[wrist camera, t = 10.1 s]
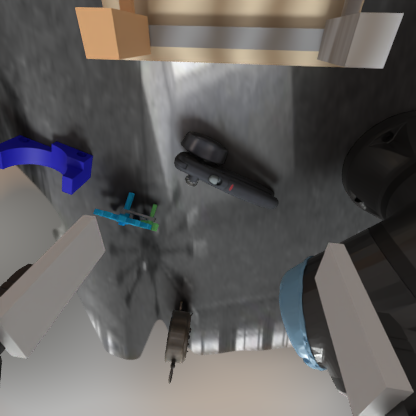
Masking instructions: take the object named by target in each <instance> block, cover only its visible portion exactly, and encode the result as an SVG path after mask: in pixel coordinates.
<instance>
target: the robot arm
mask: <svg viewBox="0 0 416 416" xmlns="http://www.w3.org/2000/svg"><path fill="white" fill-rule="evenodd" d="M342 182H343V186H344V188H345V190H346V192H347V194H348V195H349V196H350V198H351V199H352V201H353V202H354V203H355V204H356V205H357V206H359V207H360V208H361V209H363V210H365V211H367V212H368V213H370V214H372V215H374V216H376V217H378V218H380V219H381V220H383V221H381V222H380V223H378V224H376V225H374V226H372V227H370V228H367V229H366V230H364V231H362V232H360V233H358V234H356V235H354V236H352V237H350V238H348V239H346V240H344V241H342V242H340V243H339V244H337V243H328V246H327V248H326V250H325V251H323V252H321V253H319V254H317V255H315V256H309V257H307V258H306V259H305V260H304V262H302V263H300V264H298V265H297V266H295V267H293V268H292V269H290V270H289V271H287V272H286V274H285V275H284V276H283V278H282V281H281V285H280V293H279V302H280V310H281V315H282V319H283V323H284V326H285V329H286V332H287V334H288V337H289V339H290V341H291V343H292V345H293V347H294V349H295V351H296V352H297V354H298V355H299V356H300V357H301V358H303V361H304V362H305V363H306V364H307V365H308V366H309V367H311V368H313V369H318V370H320V371H321V370H326V369H327V370H328V372H329V374H330V376H331V378H332V380H333V382H334V384H335V386H336V388H337V390H338V391H339V392H340V394H342V395H344V396H345V397H347V398H348V400H349V403H350V407H351V410H352V414H353V416H416V111H410V112H406V113H402V114H399V115H396V116H393V117H391V118H388V119H386V120H384V121H382V122H381V123H379V124H377V125H376V126H374V127H373V128H371V129H370V130H369V131H367V132H366V133H365V134H364V135H363V136H362V137H361V138H360V139H359V140H358V141H357V142H356V143H355V144H354V146H353V147H352V149H351V150H350V152H349V153H348V155H347V157H346V159H345V162H344V165H343V169H342ZM104 252H105V248H104V245H103V241H102V238H101V234H100V230H99V227H98V223H97V220H96V216H88V215H83V216H82V217H81V218H80V219H79V220H78V221H77V222H76V223H75V224H74V225H73V226H72V227H71V228H70V229H69V230H68V231H67V232H66V233H65V234H64V235H63V236H62V237H61V238H60V239H59V240H58V241H57V242H56V243H55V244H54V245H53V246H52V247H51V248H50V249H49V250H48V251H47V252H46V253H45V254H43V255H42V256H41V257H40V258H39V259H38V260H37V261H36V263H34V264H27V265H26V266H24V267H22V268H21V269H19V270H18V271H16V272H15V273H14V274H13V275H12V276H11V277H10V278H9V279H8V280H7V282H5V283H3V284H2V285H1V286H0V354H1V353H2V352H3V351H4V349H6V350H7V351H8V352H9V353H10V355H12V356H15V357H21V358H26V359H28V357H29V356H30V355H31V353H32V352H33V350H34V349H35V348H36V346H37V345H38V344H39V342H40V341H41V339H42V338H43V337H44V335H45V334H46V332H47V331H48V330H49V328H50V327H51V325H52V324H53V323H54V321H55V320H56V319H57V317H58V316H59V314H60V313H61V312H62V310H63V309H64V307H65V306H66V305H67V303H68V302H69V301H70V299H71V298H72V296H73V295H74V294H75V292H76V291H77V289H78V288H79V287H80V285H81V284H82V283H83V281H84V280H85V278H86V277H87V276H88V274H89V273H90V271H91V270H92V269H93V267H94V266H95V264H96V263H97V262H98V260H99V259H100V258H101V256H102V255H103V253H104ZM1 365H2V360H1V356H0V378H1Z"/></svg>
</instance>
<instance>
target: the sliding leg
mask: <svg viewBox="0 0 416 416" xmlns="http://www.w3.org/2000/svg"><path fill="white" fill-rule="evenodd" d="M119 6H120V10H118V9H113V8H83V7H75V9H76V13H77V18H78V22H79V27H80V31H81V35H82V40H83V44H84V49H85V53H86V58H87V59H113V60H121V59H126V58H132V57H138V56H144V55H149V54H151V48H150V38H149V27H148V17H147V16H144V15H140V14H135V7H134V0H119Z"/></svg>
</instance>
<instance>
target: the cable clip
mask: <svg viewBox="0 0 416 416" xmlns="http://www.w3.org/2000/svg"><path fill="white" fill-rule="evenodd" d="M92 158H93V156H92V155H90V154H87V153H85V152H82V151H80V150H77V149H75V148H72V147H70V146H67V145H65V144H62V143H59V142H57V141H56V142H55V143H53V144H52V147H49V146H46V145H44V144H41V143H39V142H36V141H34V140H31V139H29V138H26V137H23V136H21V135H19V136H17V137H14V138H12V139H10V140H8V141H5V142H3V143H1V144H0V168H1V169H5V168H7V167H10V166H14V165H19V164H38V165H44V166H48V167H51V168H53V169H55V170H57V171H59V172H60V173H62V174H63V177H62V191H63V192H65V193H68V194H71V195H72V194H73V193H74V192H75V191H76V190H77V189H78V188H80V187H81V186H82V185H83V184H84V183H85V182H86V181H87V180H88V179H89V178H90V177H91V168H92Z"/></svg>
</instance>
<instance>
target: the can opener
mask: <svg viewBox="0 0 416 416" xmlns="http://www.w3.org/2000/svg"><path fill="white" fill-rule="evenodd" d="M181 145H182V146H183V147H184V148H185V149H187V150H188V151H189V152H181V153H179V154H178V155H177V156H176V158H175V162H174V164H175V167H176V168H177V169H179V170H180V171H183V172H185V173H187V174H188V176H187V177H186V178H185V179H186V183H187V184H188V185H189V186H192V187H195V186H196V185H197V183H198V181H199V179H200V180H202V181H203V182H206V183H207V184H209V185H211V186H213V187H215V188H218V189H220V190H222V191H224V192H226V193H228V194H231V195H233V196H235V197H237V198H240V199H242V200H244V201H247V202H250V203H252V204H255V205H258V206H261V207H264V208H267V209H274V208H276V207H277V206H278V200H277V198H275V197H274V193H273V192H272V191H271V190H269V189H267V188H266V187H264V186H262V185H260V184H258V183H256V182H254V181H252V180H250V179H248V178H246V177H243V176H241V175H238V174H236V173H234V172H231V171H229V170H227V169H225V168H222V167H221V166H218V165H217V164H224V162H225V159H226V156H227V152H228V151H227V150H226V149H225V148H224V147H223V146H222V145H221V144H219V143H218V142H216V141H215V140H213V139H211V138H209V137H207V136H205V135H201V134H198V133H193V132H189V133H188V134H187V135H186V136H185V138H184V139H183V141H182V142H181Z"/></svg>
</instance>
